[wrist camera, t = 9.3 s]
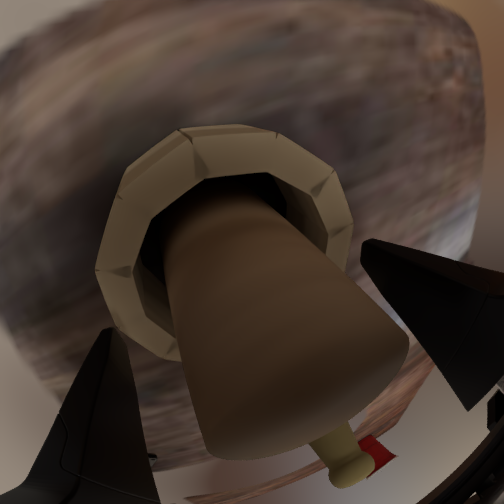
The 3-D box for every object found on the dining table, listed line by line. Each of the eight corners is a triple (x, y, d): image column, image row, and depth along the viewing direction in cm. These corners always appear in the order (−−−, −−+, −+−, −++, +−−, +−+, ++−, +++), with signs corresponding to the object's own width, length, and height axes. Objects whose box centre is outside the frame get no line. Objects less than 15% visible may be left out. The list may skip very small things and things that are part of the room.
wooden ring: (251, 324, 16) (275, 368, 13) (89, 288, 11) (81, 342, 8) (337, 182, 13) (385, 208, 10) (163, 87, 8) (170, 77, 6)
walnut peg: (236, 288, 14) (323, 442, 7) (143, 263, 12) (174, 467, 5) (284, 203, 13) (434, 333, 6) (187, 160, 10) (301, 314, 3)
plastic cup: (382, 428, 61) (402, 456, 52) (352, 449, 62) (371, 477, 53) (375, 428, 55) (397, 460, 45) (342, 451, 56) (362, 482, 46)
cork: (285, 428, 28) (324, 499, 19) (302, 405, 26) (351, 485, 17) (324, 416, 31) (364, 478, 22) (344, 391, 28) (393, 459, 19)
